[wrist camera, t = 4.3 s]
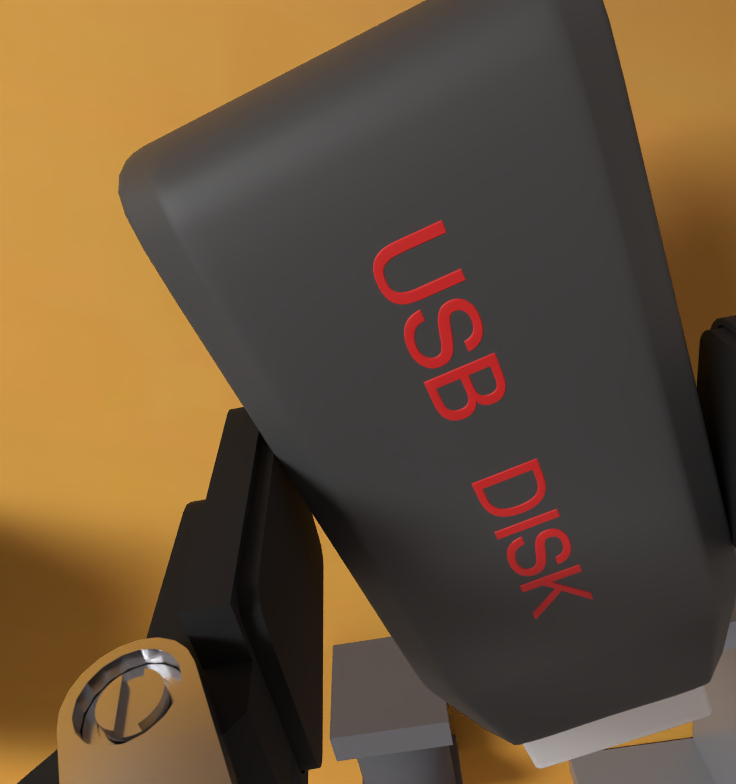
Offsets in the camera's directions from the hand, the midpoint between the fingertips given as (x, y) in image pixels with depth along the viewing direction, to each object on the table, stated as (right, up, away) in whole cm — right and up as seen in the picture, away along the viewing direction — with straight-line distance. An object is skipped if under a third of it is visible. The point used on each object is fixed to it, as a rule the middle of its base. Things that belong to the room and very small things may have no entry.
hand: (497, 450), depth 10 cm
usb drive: (0, 0, +1) cm, 1 cm away
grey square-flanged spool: (-1, -10, +13) cm, 16 cm away
